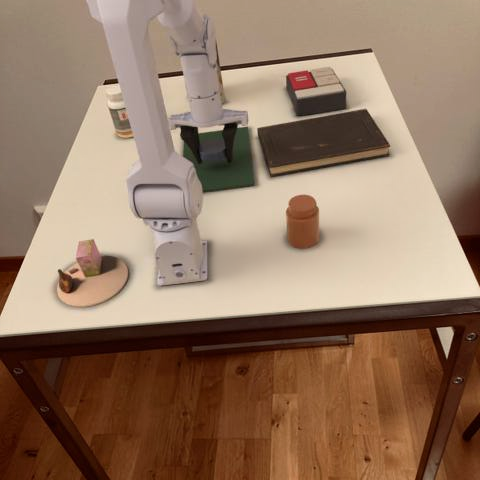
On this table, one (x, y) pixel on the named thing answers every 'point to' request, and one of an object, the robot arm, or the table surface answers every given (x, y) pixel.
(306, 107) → the grey box
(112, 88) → the pill bottle
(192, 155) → the mat
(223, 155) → the lid
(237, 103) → the table surface
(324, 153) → the hardcover book
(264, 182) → the table surface
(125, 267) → the dessert plate
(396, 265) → the table surface
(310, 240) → the jar
